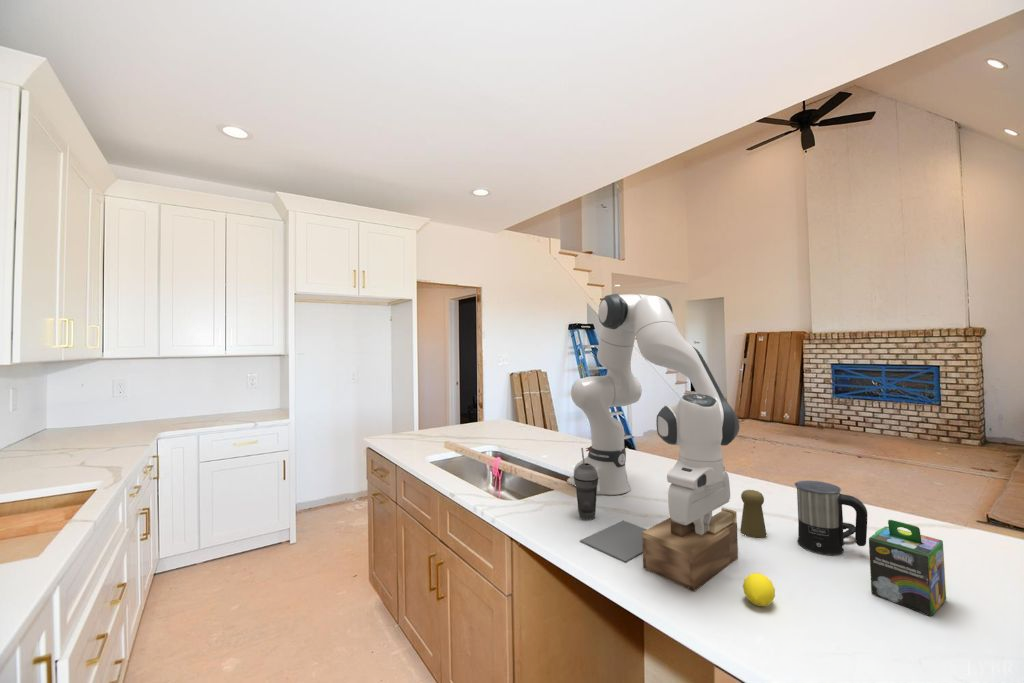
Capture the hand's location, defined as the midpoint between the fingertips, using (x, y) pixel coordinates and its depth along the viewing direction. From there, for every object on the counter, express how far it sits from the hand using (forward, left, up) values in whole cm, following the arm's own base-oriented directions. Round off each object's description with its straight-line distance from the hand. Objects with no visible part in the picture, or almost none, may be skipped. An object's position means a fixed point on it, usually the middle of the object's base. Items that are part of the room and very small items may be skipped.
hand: (702, 532), depth 94 cm
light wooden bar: (+1, +7, -1) cm, 7 cm away
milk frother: (+13, +36, -9) cm, 40 cm away
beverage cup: (-37, +4, -9) cm, 38 cm away
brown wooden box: (-4, +2, -9) cm, 10 cm away
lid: (-4, 0, -3) cm, 5 cm away
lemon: (+12, -2, -9) cm, 15 cm away
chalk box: (+30, +21, -9) cm, 38 cm away
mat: (-21, 0, -9) cm, 23 cm away
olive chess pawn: (-1, +28, -9) cm, 29 cm away
